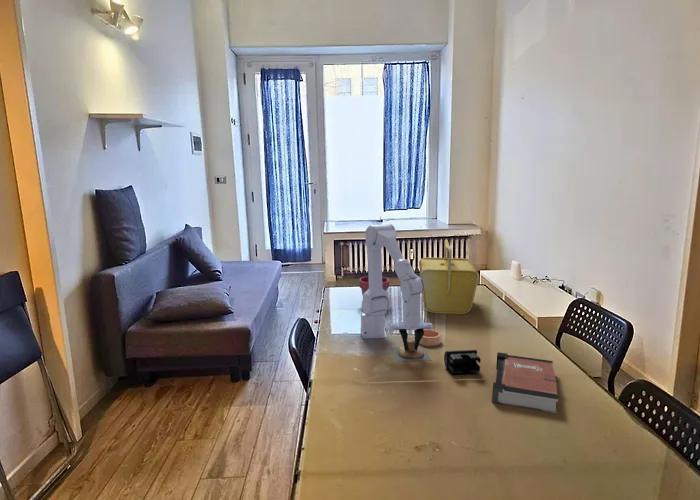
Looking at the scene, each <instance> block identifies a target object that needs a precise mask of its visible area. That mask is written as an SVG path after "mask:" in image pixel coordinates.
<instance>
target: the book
mask: <svg viewBox="0 0 700 500" xmlns="http://www.w3.org/2000/svg"><path fill="white" fill-rule="evenodd" d="M495 366H496V376H495V382H492V395H491V403H493V404H498V405H505V406H511V407H518V408H521V409H527V410H534V411H539V412H546V413H551V414H558V410H557V402H559V395H558V387H559V386H558V384H559V383H558V382H559V381H558V376H556V375H555V369H554V362H553V360H549V359H547V360H546V359H540V358H533V357H525V356H518V355H510V354H508V353H505V352H499V351H498V352H497V354H496V365H495Z"/></svg>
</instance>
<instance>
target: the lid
mask: <svg viewBox="0 0 700 500" xmlns="http://www.w3.org/2000/svg"><path fill="white" fill-rule="evenodd" d="M400 347H401V348H399V349H398V355H399V356H401V357H403V358H407V359H418V358H421V357H422V356H423V355H424V351H423V350H422V349H421V348H419V347H420V346H418V350H415V339H414V340H412V339H407V351H405V349H404V346H400Z"/></svg>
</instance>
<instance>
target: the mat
mask: <svg viewBox="0 0 700 500" xmlns="http://www.w3.org/2000/svg"><path fill="white" fill-rule="evenodd" d="M401 347H402V346H399V347H398V346H396V347H390V349H391V351H392V354H393V356H394V358H395V361H396V362H419V361H420V362H423V361H424V362H426V361H427V362H429V361H432V359H431V357H430V355H429V353H428V352H427V350H426V348H425V346H418V347H419V348H421V349H422V350H423V351H424V355H423V356H422V357H421V358H418V359H407V358H403V357H401V356H399V355H398V349H399V348H401Z"/></svg>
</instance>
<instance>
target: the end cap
mask: <svg viewBox="0 0 700 500" xmlns="http://www.w3.org/2000/svg"><path fill="white" fill-rule="evenodd" d="M443 361H444V363H443V364H444V367H445V369H446V370H447V371H448V372H449V374H450V376H454V377H455V376H472V375H473V376H475V375H479V374H480V372H481V366H480V364H479V363H481V357H480V356H478V350H477V349H461V350H446V351H445V352H444V355H443Z"/></svg>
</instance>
